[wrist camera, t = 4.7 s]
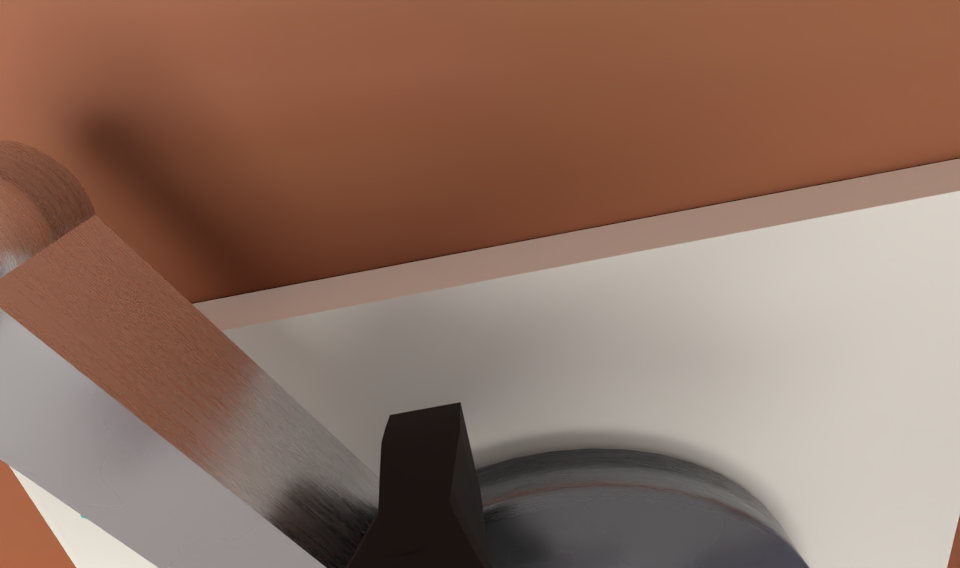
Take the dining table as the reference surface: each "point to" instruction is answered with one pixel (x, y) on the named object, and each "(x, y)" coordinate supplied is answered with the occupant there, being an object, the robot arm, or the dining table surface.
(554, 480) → the crank handle
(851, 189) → the base board
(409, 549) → the robot arm
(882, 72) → the dining table surface
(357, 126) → the dining table surface
